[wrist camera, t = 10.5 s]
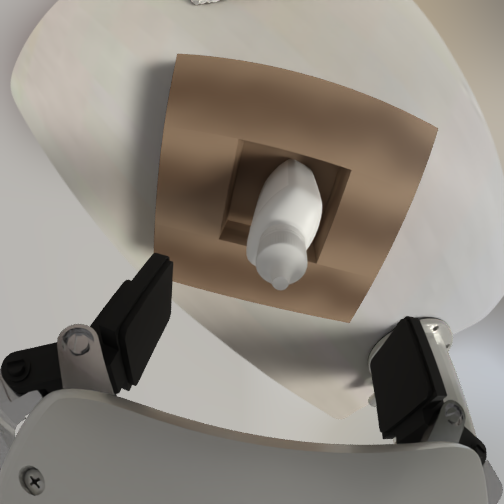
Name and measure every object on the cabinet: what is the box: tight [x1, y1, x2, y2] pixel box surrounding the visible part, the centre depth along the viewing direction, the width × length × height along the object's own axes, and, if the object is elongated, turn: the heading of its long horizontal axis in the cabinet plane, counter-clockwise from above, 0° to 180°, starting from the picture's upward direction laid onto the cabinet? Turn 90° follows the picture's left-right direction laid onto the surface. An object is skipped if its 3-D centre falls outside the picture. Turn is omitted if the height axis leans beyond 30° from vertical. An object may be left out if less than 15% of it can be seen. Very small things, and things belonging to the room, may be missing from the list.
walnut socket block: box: [154, 54, 438, 323], centre depth 21 cm, size 18×18×4 cm
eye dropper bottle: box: [246, 159, 322, 290], centre depth 17 cm, size 4×6×12 cm
